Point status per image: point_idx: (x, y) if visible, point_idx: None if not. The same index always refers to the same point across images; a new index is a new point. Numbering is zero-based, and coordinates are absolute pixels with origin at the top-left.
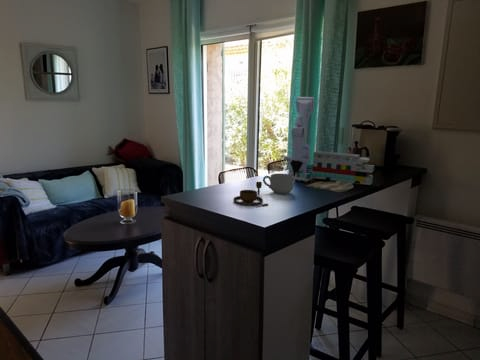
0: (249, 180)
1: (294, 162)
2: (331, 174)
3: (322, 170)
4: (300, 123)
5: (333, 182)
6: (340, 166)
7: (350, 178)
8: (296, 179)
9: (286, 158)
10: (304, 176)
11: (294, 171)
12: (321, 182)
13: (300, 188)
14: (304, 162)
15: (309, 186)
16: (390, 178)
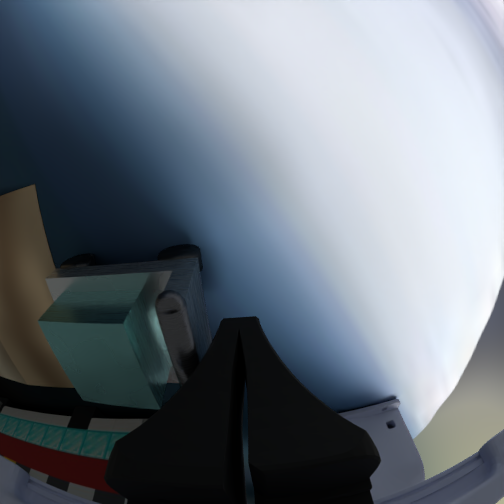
0: (486, 11)
1: (222, 491)
2: (56, 442)
3: (94, 468)
4: None
5: (13, 371)
6: None
7: (5, 421)
8: (176, 257)
9: (486, 475)
10: (73, 304)
11: (243, 349)
12: (57, 360)
13: (16, 68)
14: (63, 495)
15: (10, 193)
16: None
